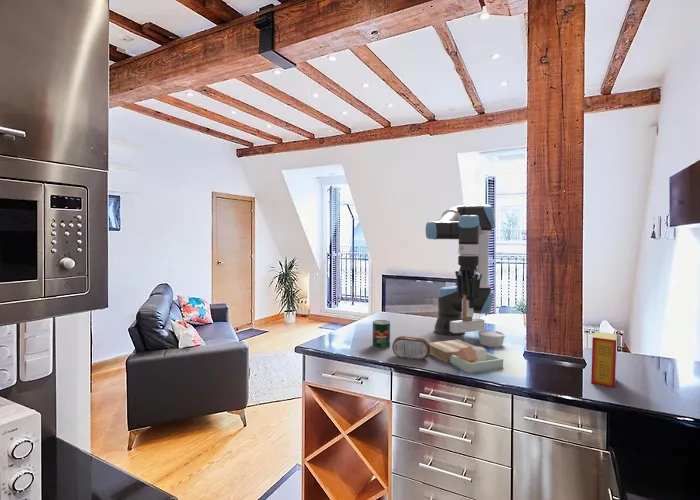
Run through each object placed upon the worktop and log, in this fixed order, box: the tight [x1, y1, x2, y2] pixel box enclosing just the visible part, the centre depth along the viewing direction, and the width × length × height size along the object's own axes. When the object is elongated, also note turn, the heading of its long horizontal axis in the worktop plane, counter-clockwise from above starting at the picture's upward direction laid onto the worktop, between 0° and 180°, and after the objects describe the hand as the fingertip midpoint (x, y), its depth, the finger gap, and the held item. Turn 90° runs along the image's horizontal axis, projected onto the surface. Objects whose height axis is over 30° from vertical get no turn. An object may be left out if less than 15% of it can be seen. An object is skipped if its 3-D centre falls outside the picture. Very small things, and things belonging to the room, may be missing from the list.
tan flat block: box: [428, 339, 476, 364], centre depth 160 cm, size 16×14×4 cm
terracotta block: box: [456, 347, 478, 363], centre depth 146 cm, size 5×5×4 cm
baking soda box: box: [590, 331, 618, 389], centre depth 132 cm, size 10×6×16 cm
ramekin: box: [477, 329, 506, 348], centre depth 176 cm, size 11×11×5 cm
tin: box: [392, 335, 430, 361], centre depth 156 cm, size 15×3×8 cm, turn 71°
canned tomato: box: [372, 319, 391, 350], centre depth 172 cm, size 8×8×11 cm
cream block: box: [472, 345, 487, 362], centre depth 150 cm, size 5×5×4 cm
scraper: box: [450, 295, 485, 333], centre depth 151 cm, size 14×3×14 cm, turn 111°
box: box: [449, 351, 504, 375], centre depth 147 cm, size 15×12×4 cm
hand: (467, 315), depth 151 cm, fingers closed on scraper, 2 cm apart
